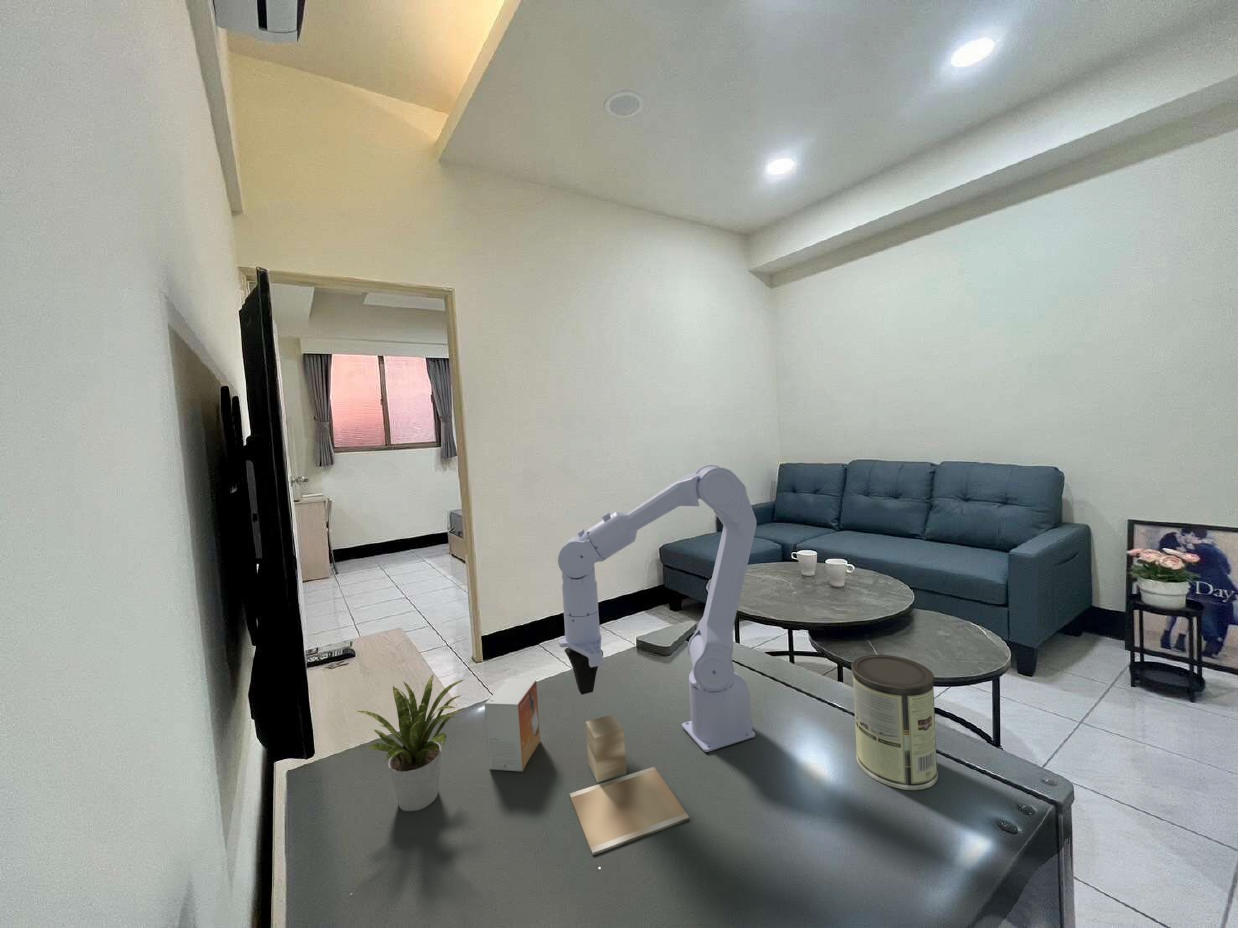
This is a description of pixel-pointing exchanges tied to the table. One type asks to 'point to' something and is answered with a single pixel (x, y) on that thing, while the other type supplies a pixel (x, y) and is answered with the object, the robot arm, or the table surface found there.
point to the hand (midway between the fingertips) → (586, 691)
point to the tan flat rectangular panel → (626, 809)
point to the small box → (512, 725)
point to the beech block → (606, 749)
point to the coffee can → (895, 721)
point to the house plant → (414, 747)
